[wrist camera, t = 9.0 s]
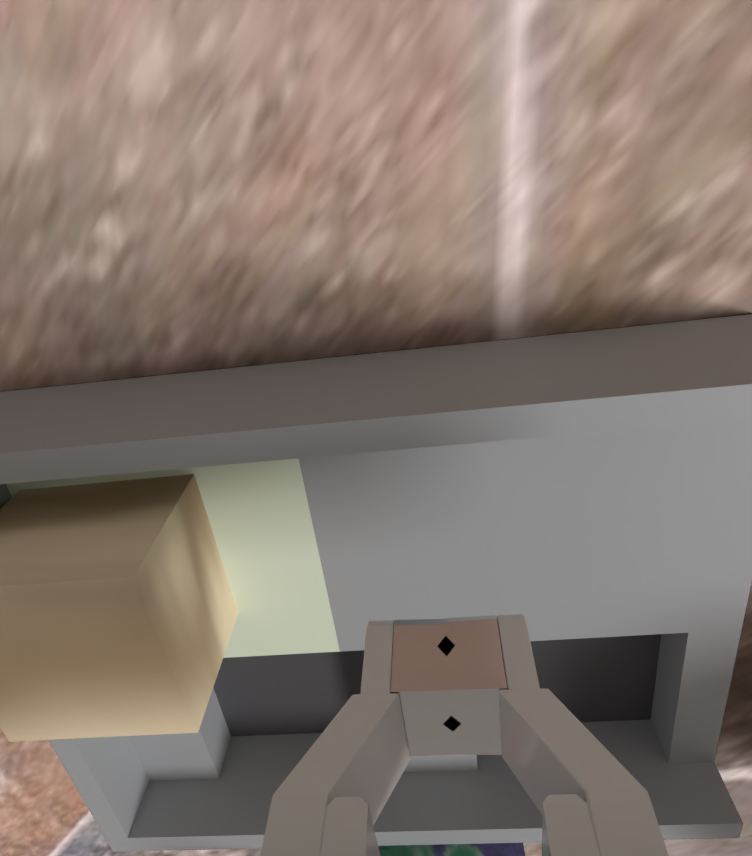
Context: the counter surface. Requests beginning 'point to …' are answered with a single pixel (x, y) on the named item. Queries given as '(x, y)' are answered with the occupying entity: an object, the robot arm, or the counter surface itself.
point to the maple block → (110, 610)
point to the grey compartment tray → (435, 559)
